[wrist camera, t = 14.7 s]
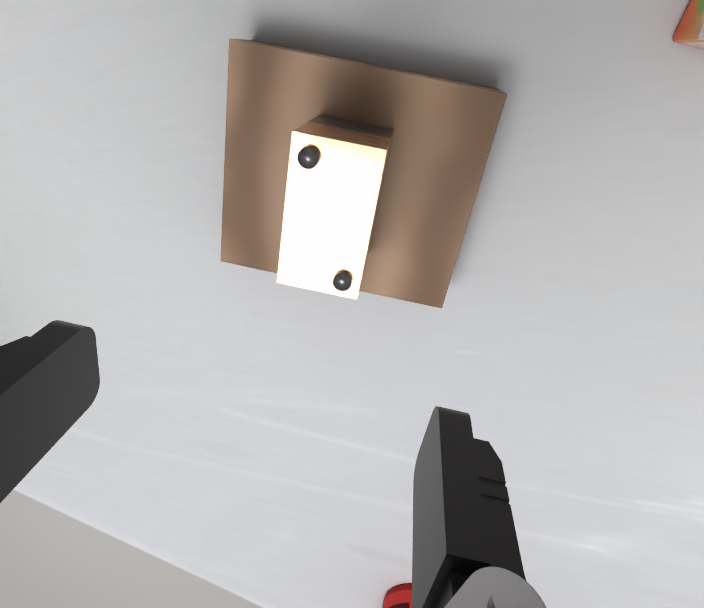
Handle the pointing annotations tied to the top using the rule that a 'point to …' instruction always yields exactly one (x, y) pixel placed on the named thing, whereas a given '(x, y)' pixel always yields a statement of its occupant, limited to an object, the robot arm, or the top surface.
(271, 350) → the top surface
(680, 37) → the cracker box
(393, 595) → the canned food
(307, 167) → the block
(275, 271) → the walnut stand
